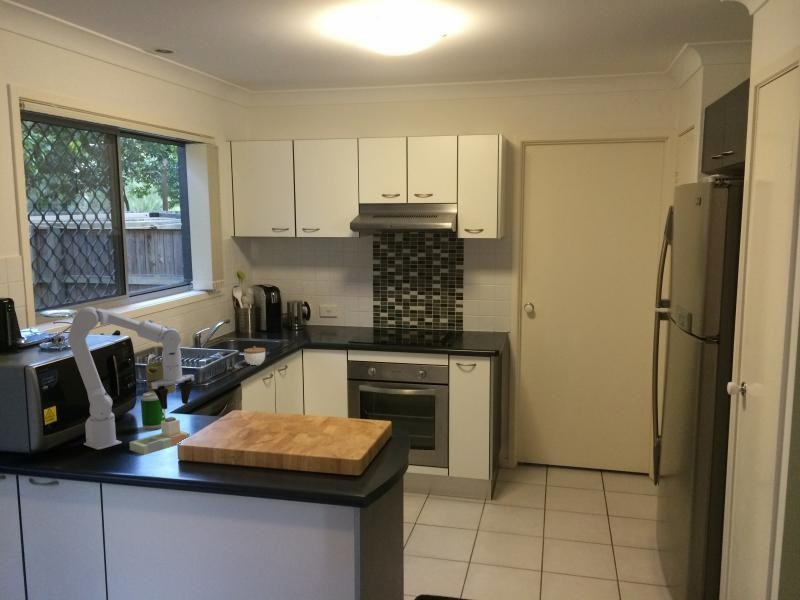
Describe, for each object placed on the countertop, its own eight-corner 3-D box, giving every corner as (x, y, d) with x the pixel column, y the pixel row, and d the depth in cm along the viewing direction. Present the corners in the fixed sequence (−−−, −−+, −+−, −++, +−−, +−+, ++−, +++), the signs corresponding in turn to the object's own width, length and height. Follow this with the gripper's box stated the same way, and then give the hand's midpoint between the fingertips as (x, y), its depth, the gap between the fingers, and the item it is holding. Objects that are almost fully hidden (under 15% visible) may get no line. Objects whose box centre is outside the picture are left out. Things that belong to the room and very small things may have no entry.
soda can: (161, 430, 227) (159, 395, 226) (139, 431, 227) (136, 396, 226) (168, 424, 234) (166, 390, 233) (147, 424, 234) (145, 391, 233)
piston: (162, 367, 276) (139, 366, 280) (164, 395, 278) (141, 394, 281) (179, 361, 287) (157, 360, 291) (180, 389, 288) (159, 388, 292)
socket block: (129, 449, 207) (129, 441, 206) (175, 436, 219) (175, 428, 219) (144, 454, 202) (143, 445, 201) (190, 441, 214) (189, 432, 214)
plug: (162, 442, 213) (160, 418, 212) (173, 439, 216) (171, 415, 216) (169, 444, 211) (168, 420, 210) (180, 441, 214) (179, 417, 213)
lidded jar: (269, 364, 338) (268, 346, 337) (248, 367, 332) (247, 348, 331) (261, 361, 347) (260, 343, 346) (241, 364, 341) (240, 346, 340)
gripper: (159, 370, 210) (161, 412, 211) (198, 362, 221) (200, 403, 223) (146, 368, 214) (149, 409, 216) (186, 360, 226) (188, 400, 227)
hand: (174, 406), depth 220 cm, fingers open, 7 cm apart
